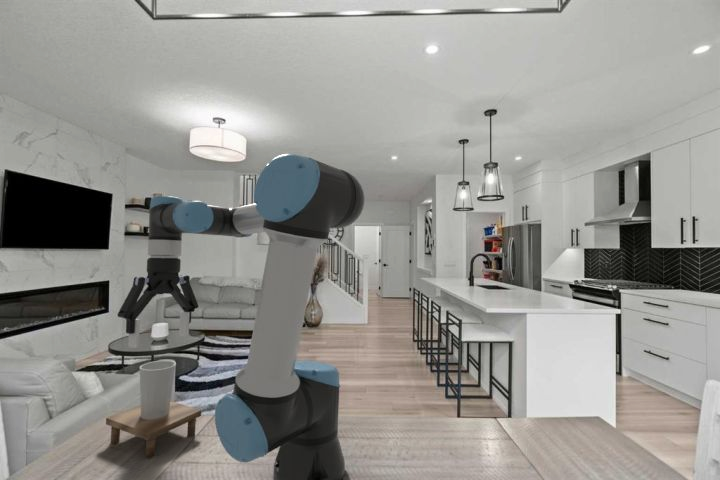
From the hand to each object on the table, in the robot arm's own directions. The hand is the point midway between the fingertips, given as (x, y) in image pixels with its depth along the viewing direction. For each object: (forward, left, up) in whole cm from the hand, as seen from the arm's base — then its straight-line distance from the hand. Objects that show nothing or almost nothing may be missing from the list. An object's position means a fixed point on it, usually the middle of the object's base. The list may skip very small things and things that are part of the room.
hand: (160, 341), depth 89 cm
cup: (0, 0, -18) cm, 18 cm away
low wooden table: (0, 0, -24) cm, 24 cm away
